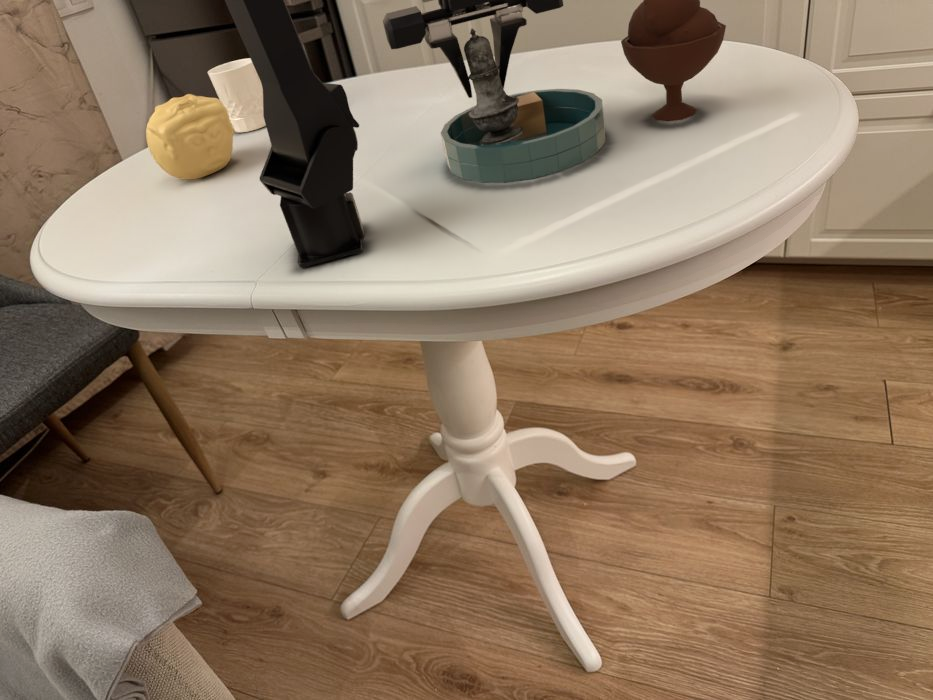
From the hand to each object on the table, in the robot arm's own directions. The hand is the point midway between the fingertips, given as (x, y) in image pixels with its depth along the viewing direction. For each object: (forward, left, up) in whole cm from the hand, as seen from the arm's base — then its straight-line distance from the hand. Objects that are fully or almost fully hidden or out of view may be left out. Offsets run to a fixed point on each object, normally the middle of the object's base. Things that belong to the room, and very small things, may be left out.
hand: (485, 92), depth 78 cm
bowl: (+3, -1, -8) cm, 8 cm away
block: (+5, +4, -7) cm, 10 cm away
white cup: (-34, +45, -8) cm, 57 cm away
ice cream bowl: (+21, -2, -8) cm, 23 cm away
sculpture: (-40, +26, -8) cm, 48 cm away
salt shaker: (+1, -2, -5) cm, 5 cm away
